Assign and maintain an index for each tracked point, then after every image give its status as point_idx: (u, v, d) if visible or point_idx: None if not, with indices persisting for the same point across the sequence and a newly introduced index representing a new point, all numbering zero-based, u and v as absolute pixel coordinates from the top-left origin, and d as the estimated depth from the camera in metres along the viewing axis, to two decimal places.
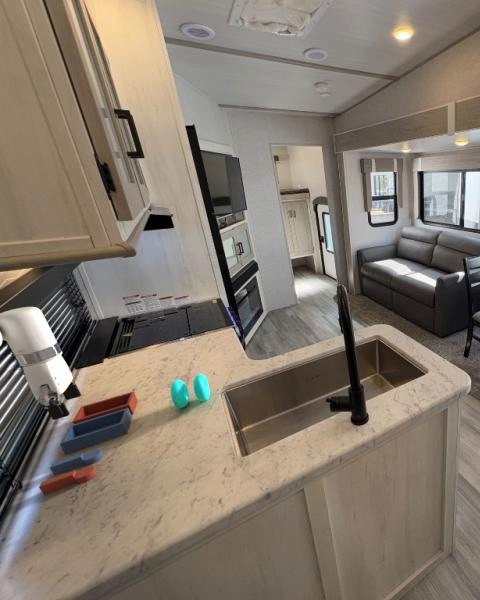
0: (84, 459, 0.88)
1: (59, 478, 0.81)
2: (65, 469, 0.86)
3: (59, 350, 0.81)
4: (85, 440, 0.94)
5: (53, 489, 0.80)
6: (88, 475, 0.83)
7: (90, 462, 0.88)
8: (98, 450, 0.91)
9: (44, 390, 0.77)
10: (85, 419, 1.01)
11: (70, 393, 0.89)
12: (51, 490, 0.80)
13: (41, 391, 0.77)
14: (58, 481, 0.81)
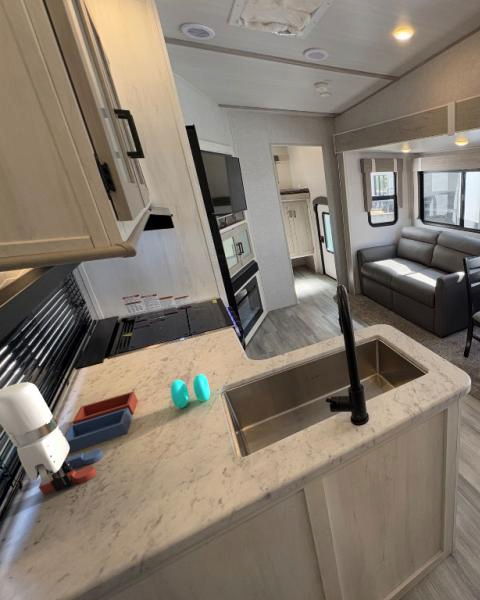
0: (84, 459, 0.88)
1: None
2: None
3: (55, 425, 0.78)
4: (85, 440, 0.94)
5: (53, 489, 0.80)
6: (88, 475, 0.83)
7: (90, 462, 0.88)
8: (98, 450, 0.91)
9: (44, 472, 0.75)
10: (85, 419, 1.01)
11: None
12: (50, 490, 0.80)
13: (41, 474, 0.75)
14: None
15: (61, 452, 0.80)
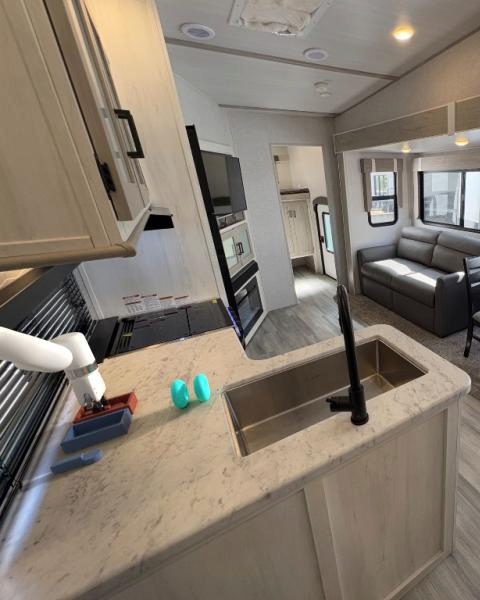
0: (84, 459, 0.88)
1: None
2: (65, 469, 0.86)
3: (97, 366, 1.02)
4: (85, 440, 0.94)
5: None
6: None
7: (90, 462, 0.88)
8: (98, 450, 0.91)
9: (89, 400, 1.00)
10: (85, 419, 1.01)
11: None
12: None
13: (87, 401, 0.99)
14: None
15: (100, 388, 1.04)
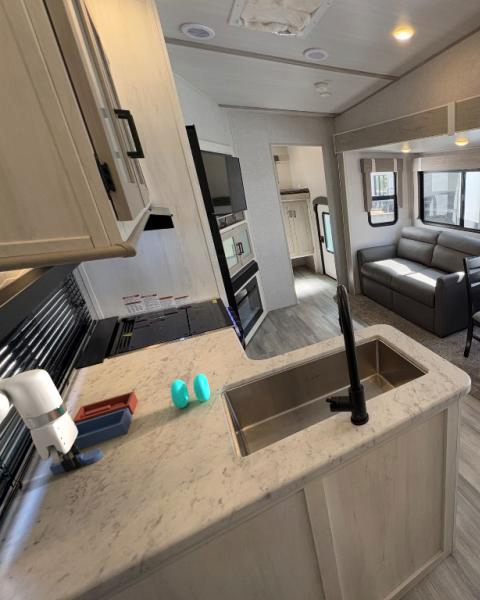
0: (84, 459, 0.88)
1: (99, 409, 1.06)
2: None
3: (65, 409, 0.83)
4: (85, 440, 0.94)
5: None
6: None
7: (90, 462, 0.88)
8: (98, 450, 0.91)
9: (55, 453, 0.81)
10: (85, 419, 1.01)
11: None
12: None
13: (52, 454, 0.81)
14: (98, 411, 1.05)
15: (70, 435, 0.85)
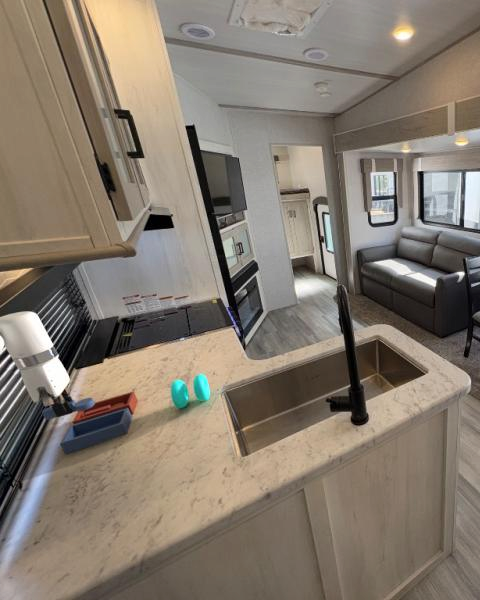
0: (75, 406, 0.88)
1: (99, 409, 1.06)
2: None
3: (55, 353, 0.84)
4: (85, 440, 0.94)
5: None
6: None
7: (81, 409, 0.88)
8: (90, 398, 0.91)
9: (46, 395, 0.81)
10: (85, 419, 1.01)
11: None
12: None
13: (43, 396, 0.81)
14: (98, 411, 1.05)
15: (61, 380, 0.86)
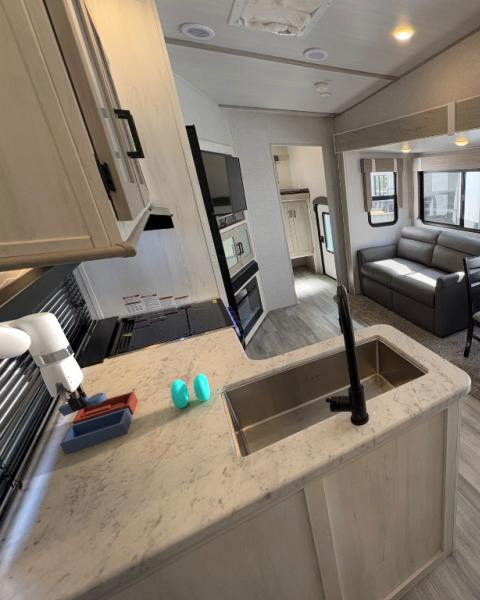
0: (89, 401, 0.94)
1: (99, 409, 1.06)
2: (73, 411, 0.93)
3: (71, 351, 0.90)
4: (85, 440, 0.94)
5: None
6: None
7: (95, 403, 0.94)
8: (101, 393, 0.97)
9: (63, 390, 0.87)
10: (85, 419, 1.01)
11: None
12: None
13: (60, 391, 0.87)
14: (98, 411, 1.05)
15: (76, 377, 0.92)
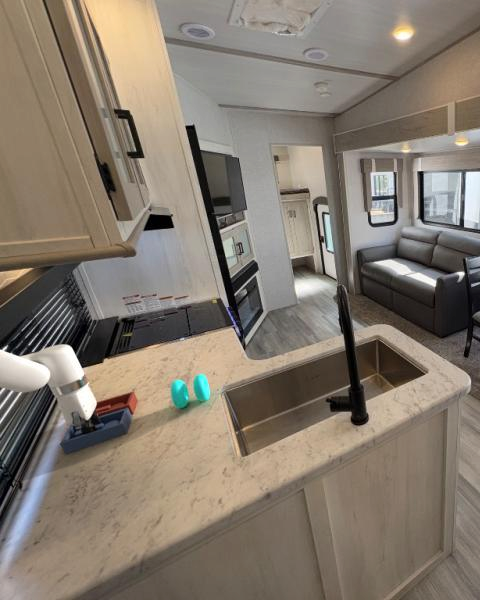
0: None
1: (99, 409, 1.06)
2: None
3: (86, 381, 0.93)
4: (85, 440, 0.94)
5: None
6: None
7: None
8: (116, 421, 1.01)
9: (77, 419, 0.91)
10: None
11: (93, 425, 0.99)
12: None
13: (75, 420, 0.90)
14: (98, 411, 1.05)
15: (91, 404, 0.95)
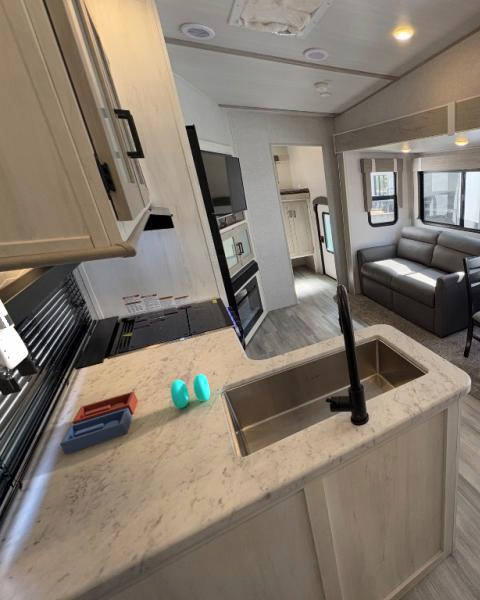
0: None
1: (99, 409, 1.06)
2: None
3: (10, 322, 0.78)
4: (85, 440, 0.94)
5: None
6: None
7: None
8: (116, 421, 1.01)
9: None
10: (85, 419, 1.01)
11: (26, 370, 0.85)
12: None
13: None
14: (98, 411, 1.05)
15: (17, 352, 0.79)
